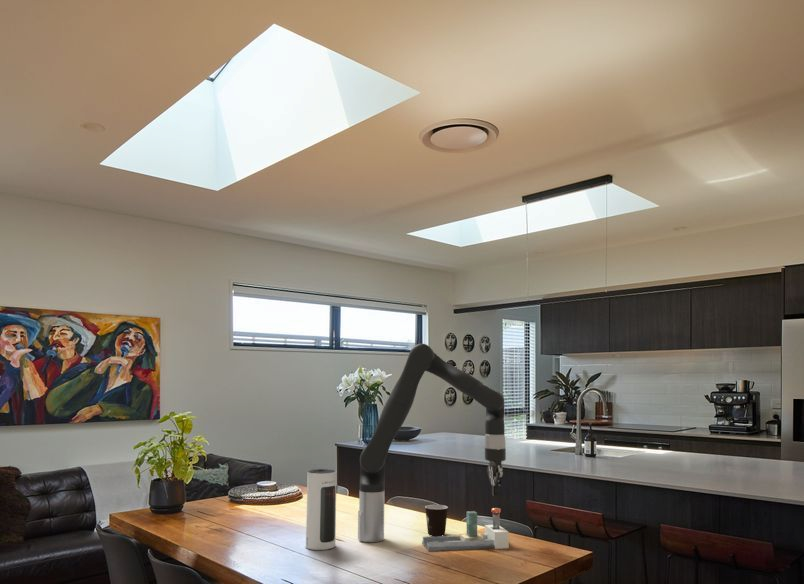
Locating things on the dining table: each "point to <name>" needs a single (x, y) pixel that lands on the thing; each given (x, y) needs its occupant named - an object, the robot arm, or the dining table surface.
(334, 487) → the speaker
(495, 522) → the gauge plunger
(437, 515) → the coffee mug
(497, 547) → the end cabinet
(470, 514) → the carriage
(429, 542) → the rail bed
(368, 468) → the robot arm
